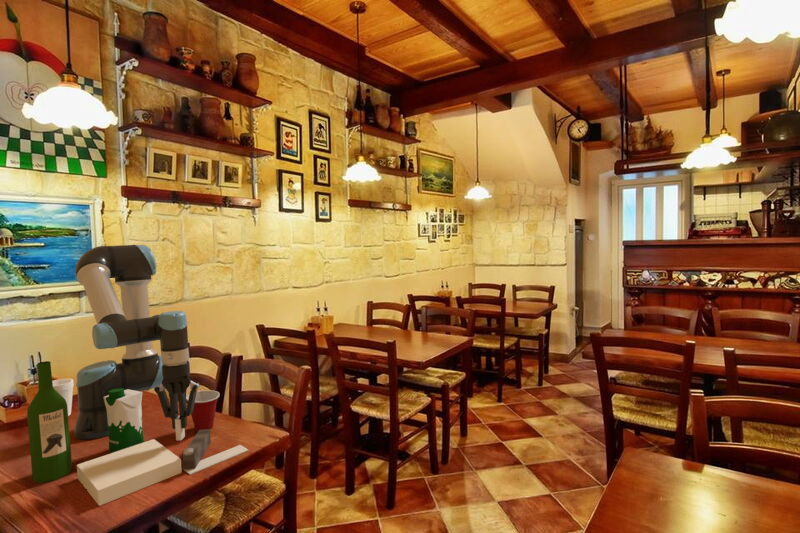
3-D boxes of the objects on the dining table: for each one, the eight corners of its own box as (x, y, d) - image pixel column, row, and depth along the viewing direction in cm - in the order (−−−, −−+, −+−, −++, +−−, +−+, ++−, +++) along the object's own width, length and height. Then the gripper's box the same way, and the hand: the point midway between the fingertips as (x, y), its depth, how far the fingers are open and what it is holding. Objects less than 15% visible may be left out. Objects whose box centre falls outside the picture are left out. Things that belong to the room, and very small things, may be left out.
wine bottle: (40, 486, 120) (30, 368, 118) (27, 477, 125) (17, 364, 123) (78, 471, 128) (69, 360, 126) (64, 463, 133) (55, 356, 130)
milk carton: (104, 453, 138) (99, 390, 137) (132, 440, 147) (128, 381, 145) (122, 458, 135) (117, 394, 133) (150, 445, 143) (145, 384, 142)
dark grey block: (193, 470, 126) (192, 451, 125) (182, 471, 125) (180, 452, 125) (210, 442, 143) (209, 426, 142) (200, 443, 142) (199, 426, 142)
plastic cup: (209, 436, 149) (207, 401, 148) (180, 433, 151) (178, 399, 150) (227, 422, 159) (226, 389, 159) (201, 420, 162) (199, 388, 161)
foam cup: (49, 413, 172) (46, 381, 171) (78, 409, 176) (75, 377, 175) (41, 422, 164) (38, 388, 163) (72, 417, 168) (69, 384, 167)
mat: (182, 468, 128) (182, 467, 128) (240, 445, 141) (240, 444, 141) (190, 474, 124) (189, 473, 124) (248, 450, 138) (248, 449, 138)
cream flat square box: (77, 478, 124) (76, 464, 124) (154, 451, 139) (153, 439, 139) (99, 505, 111) (98, 490, 110) (181, 472, 126) (180, 459, 125)
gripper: (147, 367, 130) (152, 445, 132) (192, 364, 131) (197, 442, 132) (159, 360, 138) (164, 434, 139) (202, 358, 139) (206, 431, 140)
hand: (180, 438), depth 136 cm, fingers closed
